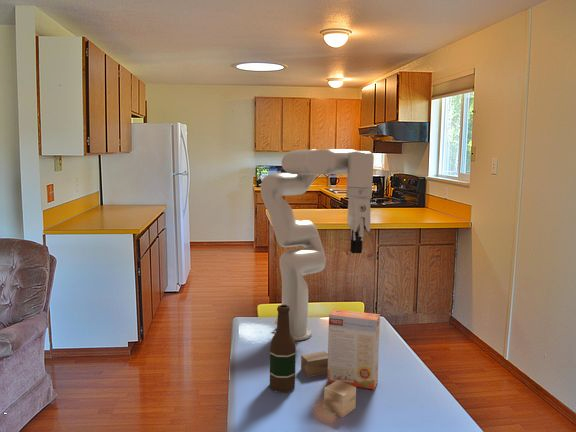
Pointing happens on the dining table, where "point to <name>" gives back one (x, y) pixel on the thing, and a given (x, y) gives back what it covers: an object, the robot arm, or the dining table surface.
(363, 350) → the cracker box
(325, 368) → the walnut block
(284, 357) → the beer bottle
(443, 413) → the dining table surface
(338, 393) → the maple block
